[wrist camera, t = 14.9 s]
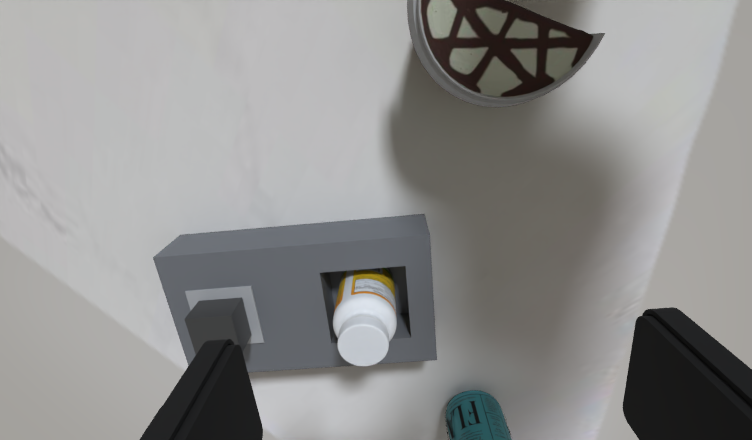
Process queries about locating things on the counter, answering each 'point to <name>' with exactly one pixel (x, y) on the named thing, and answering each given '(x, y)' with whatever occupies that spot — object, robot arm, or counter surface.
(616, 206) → the counter surface
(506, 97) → the food container
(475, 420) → the beverage bottle
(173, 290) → the control panel
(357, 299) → the supplement bottle
